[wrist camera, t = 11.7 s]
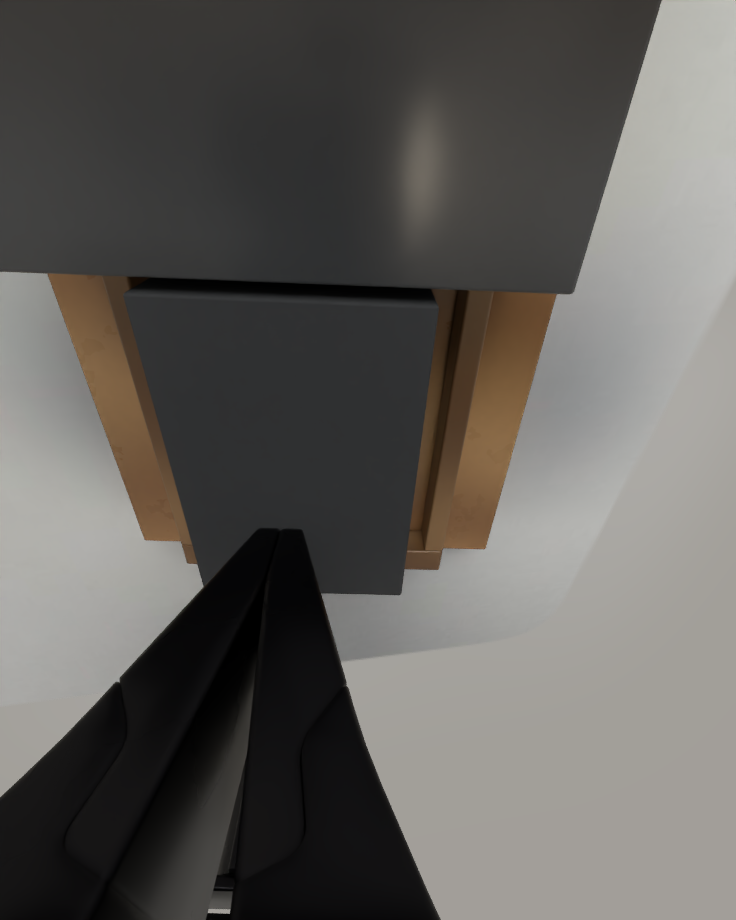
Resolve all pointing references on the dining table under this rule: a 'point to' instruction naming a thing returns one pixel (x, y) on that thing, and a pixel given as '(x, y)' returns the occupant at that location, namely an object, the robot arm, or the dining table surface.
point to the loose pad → (291, 416)
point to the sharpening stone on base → (318, 190)
